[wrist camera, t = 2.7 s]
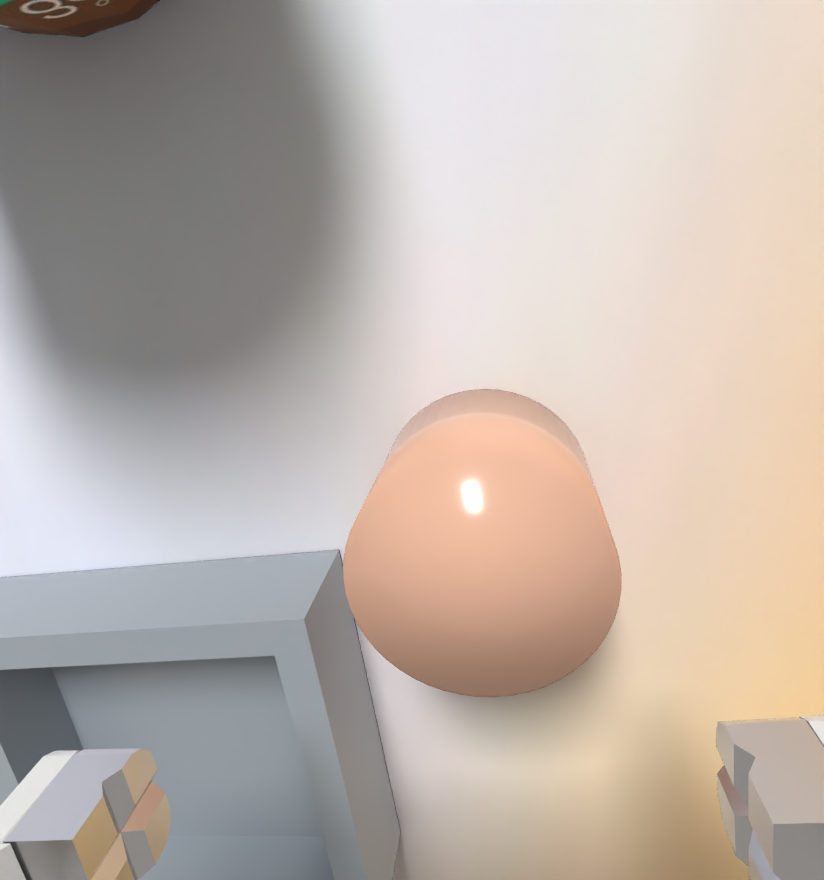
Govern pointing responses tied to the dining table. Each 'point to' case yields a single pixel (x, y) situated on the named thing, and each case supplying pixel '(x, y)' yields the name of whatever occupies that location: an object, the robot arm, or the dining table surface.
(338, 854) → the divided tray
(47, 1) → the half-moon wedge
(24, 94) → the dining table surface
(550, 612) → the peach rounded block
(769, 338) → the dining table surface
